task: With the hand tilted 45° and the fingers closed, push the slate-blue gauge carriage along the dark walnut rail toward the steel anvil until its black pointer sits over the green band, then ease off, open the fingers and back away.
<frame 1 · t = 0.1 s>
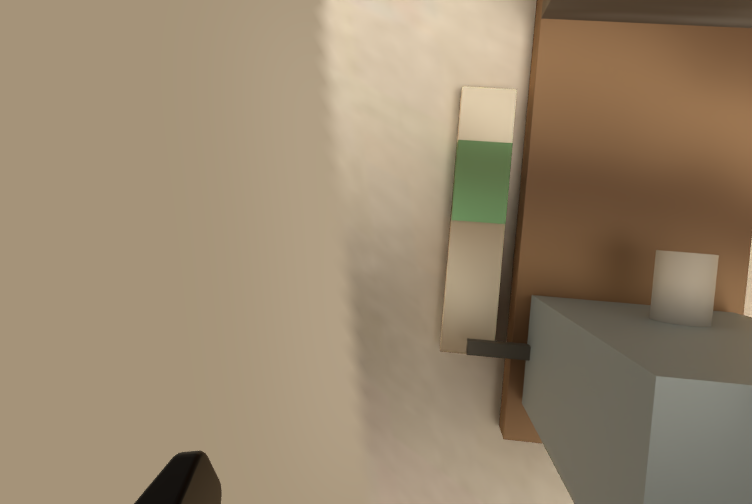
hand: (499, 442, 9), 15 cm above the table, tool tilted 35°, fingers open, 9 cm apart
gauge carriage: (660, 366, 15), point 8 cm above the table, slide at 0.0 cm
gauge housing: (624, 207, 23), on the table
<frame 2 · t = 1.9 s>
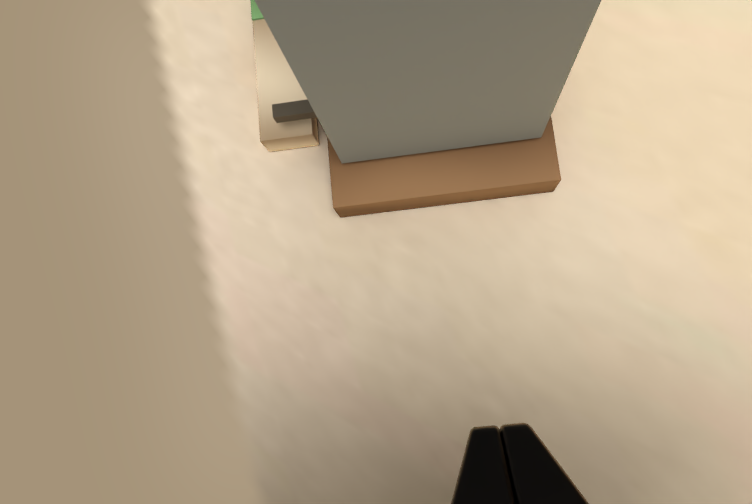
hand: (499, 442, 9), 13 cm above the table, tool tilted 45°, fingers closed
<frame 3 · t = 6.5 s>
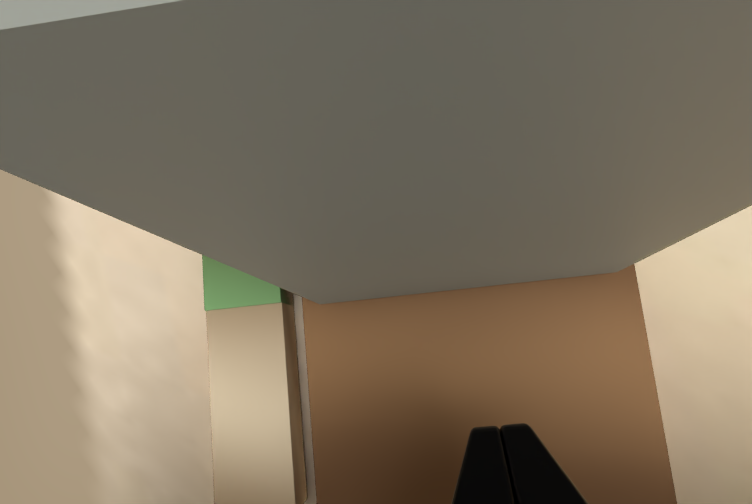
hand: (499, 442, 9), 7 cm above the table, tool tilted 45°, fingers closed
gauge carriage: (378, 51, 9), point 8 cm above the table, slide at 6.3 cm
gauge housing: (457, 251, 16), on the table
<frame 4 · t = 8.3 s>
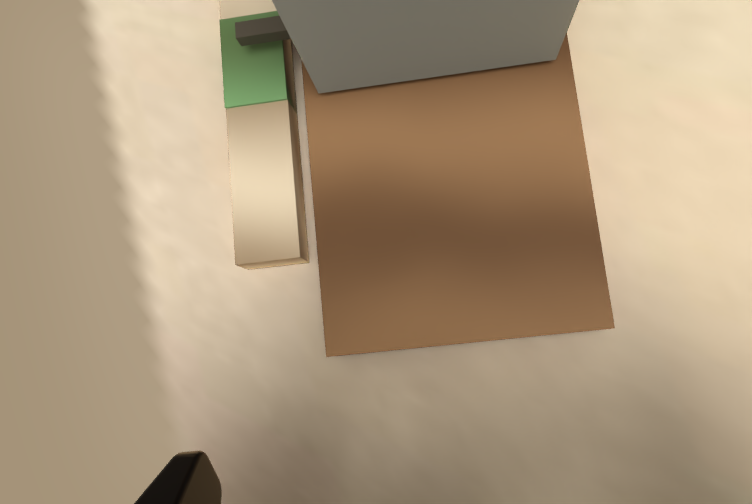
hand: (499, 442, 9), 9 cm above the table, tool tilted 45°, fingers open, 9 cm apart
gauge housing: (431, 66, 19), on the table
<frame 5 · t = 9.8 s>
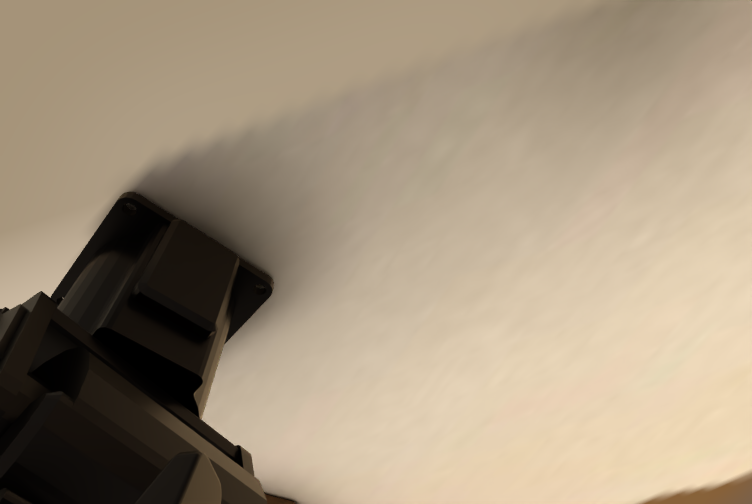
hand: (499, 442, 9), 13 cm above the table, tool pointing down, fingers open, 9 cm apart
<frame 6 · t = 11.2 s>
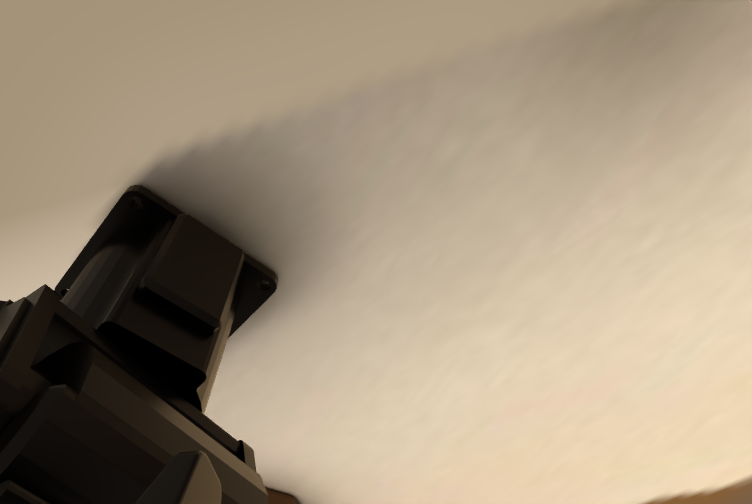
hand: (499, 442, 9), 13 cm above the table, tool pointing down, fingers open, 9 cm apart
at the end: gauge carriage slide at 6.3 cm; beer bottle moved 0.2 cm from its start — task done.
